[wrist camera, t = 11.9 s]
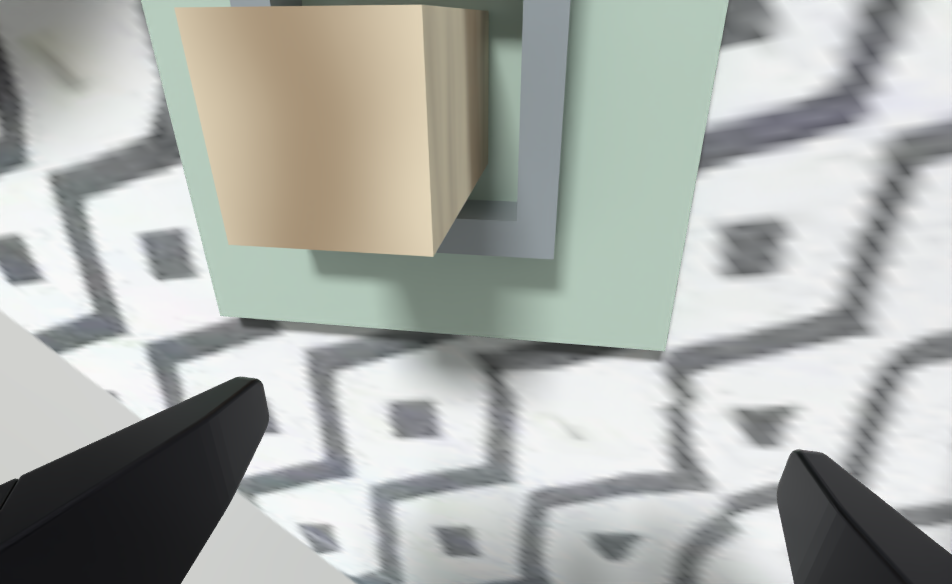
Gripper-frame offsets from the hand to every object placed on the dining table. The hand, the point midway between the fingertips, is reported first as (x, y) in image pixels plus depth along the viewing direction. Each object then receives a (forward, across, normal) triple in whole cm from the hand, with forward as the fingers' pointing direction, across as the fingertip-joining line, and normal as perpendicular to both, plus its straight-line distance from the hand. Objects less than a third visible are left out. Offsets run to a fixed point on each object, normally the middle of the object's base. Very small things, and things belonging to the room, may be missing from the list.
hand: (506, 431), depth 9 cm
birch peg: (+11, +4, -4) cm, 12 cm away
